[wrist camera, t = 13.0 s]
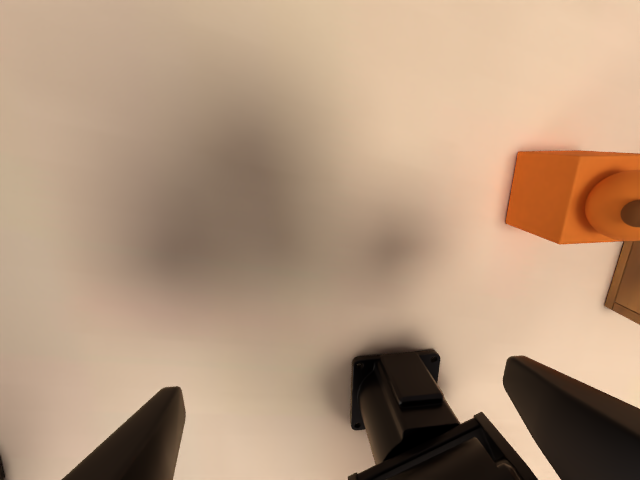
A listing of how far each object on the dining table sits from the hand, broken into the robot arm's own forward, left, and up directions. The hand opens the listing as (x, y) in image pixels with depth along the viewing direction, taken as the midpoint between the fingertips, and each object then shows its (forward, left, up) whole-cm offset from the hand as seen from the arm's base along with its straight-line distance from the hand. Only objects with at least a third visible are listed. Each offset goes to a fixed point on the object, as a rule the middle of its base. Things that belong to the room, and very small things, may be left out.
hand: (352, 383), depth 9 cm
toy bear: (+3, -15, -12) cm, 19 cm away
